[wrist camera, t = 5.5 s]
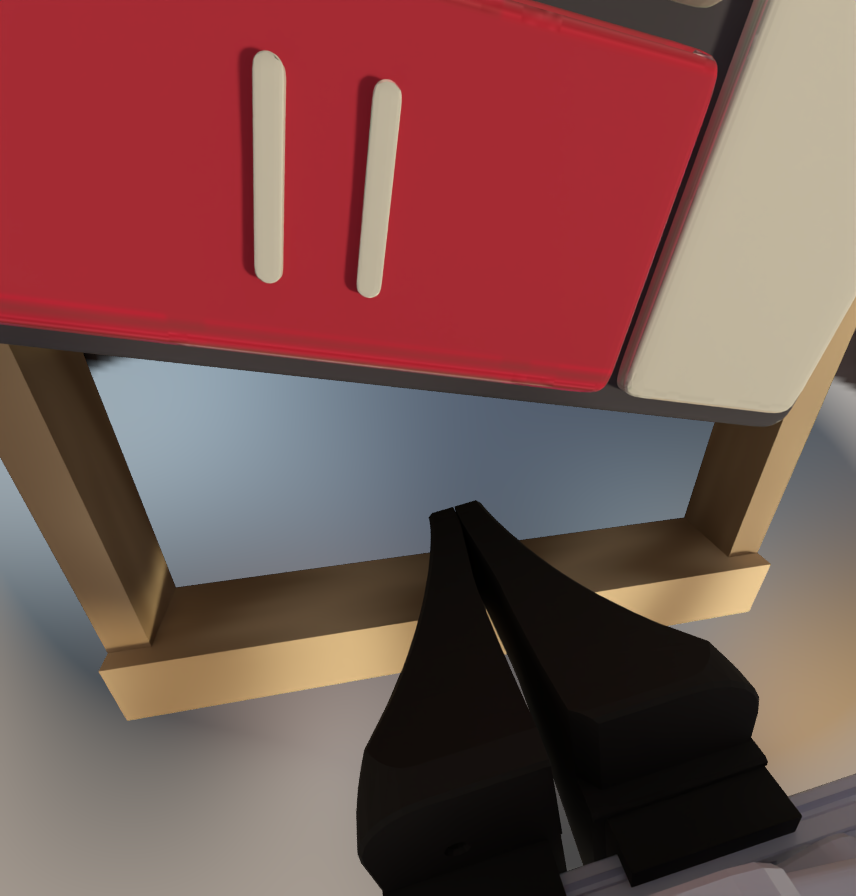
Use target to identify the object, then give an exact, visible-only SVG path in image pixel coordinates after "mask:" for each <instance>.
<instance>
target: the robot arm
mask: <svg viewBox="0 0 856 896" xmlns="http://www.w3.org/2000/svg"><path fill="white" fill-rule="evenodd" d="M455 511H456V512H455ZM429 520H430V529H431V547H430V559H429V569H428V576H427V581H426V587H425V593H424V598H423V603H422V607H421V611H420V615H419V619H418V623H417V626H416V630H415V633H414V636H413V639H412V642H411V645H410V649H409V652H408V655H407V657H406V660H405V663H404V666H403V668H402V671H401V673H400V675H399V678H398V680H397V683H396V685H395V687H394V690H393V692H392V695H391V697H390V699H389V702H388V704H387V706H386V708H385V710H384V712H383V714H382V716H381V718H380V720H379V722H378V724H377V726H376V728H375V730H374V732H373V734H372V736H371V738H370V740H369V742H368V744H367V746H366V747H365V750H364V754H363V760H362V766H361V772H360V778H359V786H358V797H357V811H356V819H357V850H358V856H359V859H360V861H361V864H362V865H363V866H364V867H365V869H366V870H367V871H368V872H369V874H370V875H371V876H372V878H373V879H374V880H375V882H376V883H377V884H378V886H379V887H380V888H381V889H382V891H383V896H856V774H853V775H850V776H847V777H844V778H841V779H838V780H836V781H833V782H830V783H827V784H824V785H821V786H818V787H815V788H812V789H809V790H806V791H803V792H800V793H797V794H794V795H791V796H787V795H786V794H785V792H784V791H783V790H782V788H781V787H780V786H779V784H778V783H777V782H776V780H775V779H774V778H773V777H772V775H771V774H770V773H769V771H768V770H767V769H766V767H765V766H766V765H767V763H768V761H767V759H766V756H765V755H764V754H763V752H762V751H761V750H760V748H759V747H758V746H757V745H756V743H755V742H754V741H753V739H752V738H751V736H752V732H753V728H754V725H755V721H756V717H757V714H758V706H759V696H758V694H757V692H756V690H755V688H754V687H753V686H752V685H751V684H750V683H749V681H747V679H746V678H745V677H744V676H743V675H742V673H741V672H740V671H739V670H738V669H737V668H736V667H735V666H734V665H733V664H732V663H731V662H730V661H729V660H728V659H727V658H726V657H725V656H724V655H723V654H722V653H720V652H719V651H718V650H717V649H716V648H715V647H714V646H713V645H712V644H711V643H710V642H709V641H707V640H704V639H701V638H698V637H696V636H693V635H690V634H687V633H684V632H682V631H679V630H676V629H673V628H671V627H668V626H665V625H663V624H660V623H658V622H655V621H653V620H650V619H648V618H646V617H644V616H641V615H639V614H637V613H634V612H632V611H630V610H628V609H626V608H624V607H622V606H620V605H618V604H616V603H614V602H612V601H610V600H608V599H606V598H604V597H602V596H600V595H598V594H597V593H595V592H593V591H591V590H590V589H588V588H586V587H584V586H583V585H581V584H579V583H578V582H576V581H574V580H573V579H571V578H570V577H568V576H566V575H565V574H563V573H562V572H560V571H559V570H557V569H556V568H554V567H553V566H551V565H550V564H549V563H547V562H546V561H544V560H543V559H542V558H540V557H539V556H538V555H536V554H535V553H534V552H532V551H531V550H530V549H529V548H527V547H526V546H525V545H524V544H523V543H521V542H520V541H519V540H518V539H517V538H515V537H514V536H513V535H512V534H511V533H509V531H507V530H506V529H505V528H504V527H503V526H502V525H501V524H500V523H499V522H498V521H496V519H495V518H494V517H493V516H492V515H491V514H490V513H489V512H488V511H487V510H486V509H485V508H484V507H483V505H482V504H481V503H480V502H478V501H476V500H475V501H472V502H469V503H465V504H462V505H459V506H455V510H454V508H453V507H451V508H448V509H445V510H441V511H438V512H435V513H432V514H431V515H430V517H429ZM482 601H483V602H482ZM483 603H484V604H483ZM484 606H485V607H484ZM485 608H486V609H485ZM486 610H487V612H488V614H489V616H490V619H491V621H492V623H493V625H494V627H495V629H496V631H497V634H498V636H499V638H500V640H501V642H502V644H503V646H504V649H505V651H506V653H507V655H508V657H509V659H510V661H511V664H512V666H513V668H514V671H515V673H516V676H517V678H518V680H519V683H520V686H521V689H522V691H523V694H524V697H525V700H526V703H527V705H528V707H527V705H526V703H525V700H524V698H523V696H522V694H521V692H520V689H519V687H518V685H517V682H516V680H515V678H514V676H513V674H512V671H511V669H510V667H509V664H508V662H507V660H506V657H505V655H504V653H503V650H502V648H501V646H500V643H499V641H498V638H497V636H496V634H495V631H494V629H493V626H492V624H491V621H490V619H489V617H488V614H487V612H486ZM528 708H529V709H528ZM553 779H554V780H553ZM554 782H555V784H556V787H557V790H558V793H559V796H560V799H561V802H562V804H563V807H564V810H565V813H566V816H567V819H568V822H569V825H570V827H571V831H572V834H573V836H574V839H575V842H576V845H577V848H578V851H579V854H580V857H581V860H582V863H583V866H581V867H578V868H575V869H572V870H569V871H567V869H566V863H565V857H564V851H563V845H562V840H561V834H562V829H561V823H560V817H559V811H558V805H557V798H556V793H555V786H554Z"/></svg>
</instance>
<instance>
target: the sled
mask: <svg viewBox="0 0 856 896" xmlns="http://www.w3.org/2000/svg"><path fill="white" fill-rule="evenodd" d="M855 328H856V297H855V299H854V300H853V302H852V304H851V306H850V308H849V309H848V311H847V313H846V315H845V316H844V318H843V320H842V322H841V323H840V325H839V327H838V329H837V330H836V332H835V334H834V336H833V337H832V339H831V341H830V343H829V344H828V346H827V348H826V350H825V352H824V353H823V355H822V357H821V359H820V360H819V362H818V364H817V366H816V367H815V369H814V371H813V373H812V374H811V376H810V378H809V380H808V381H807V383H806V385H805V387H804V389H803V390H802V392H801V393H800V395H799V397H798V398H797V400H796V402H795V404H794V405H793V407H792V409H791V410H790V412H789V413H788V414H787V416H786V417H785V418H783V419H782V420H781V421H779V422H778V423H776V424H774V425H771V426H767V427H756V426H746V425H736V424H727V423H718V422H715V423H714V426H713V429H712V432H711V436H710V439H709V442H708V445H707V448H706V451H705V455H704V458H703V461H702V464H701V467H700V470H699V473H698V477H697V480H696V482H695V486H694V489H693V492H692V495H691V498H690V501H689V505H688V507H687V511H686V514H685V517H684V518H677V519H670V520H663V521H656V522H648V523H641V524H634V525H627V526H619V527H612V528H605V529H597V530H590V531H583V532H576V533H568V534H561V535H555V536H547V537H540V538H532V539H525V540H519V541H520V542H521V543H523V544H524V545H525V546H526V547H527V548H529V549H530V550H531V551H532V552H534V553H535V554H536V555H538V556H539V557H540V558H542V559H543V560H544V561H546V562H547V563H549V564H550V565H551V566H553V567H554V568H556V569H557V570H559V571H560V572H562V573H563V574H565V575H566V576H568V577H570V578H571V579H573V580H574V581H576V582H578V583H579V584H581V585H583V586H584V587H586V588H588V589H590V590H591V591H593V592H595V593H597V594H598V595H600V596H602V597H604V598H606V599H608V600H610V601H612V602H614V603H616V604H618V605H620V606H622V607H624V608H626V609H628V610H630V611H632V612H634V613H637V614H639V615H641V616H644V617H646V618H648V619H650V620H653V621H655V622H658V623H660V624H663V625H665V626H669V625H675V624H681V623H686V622H691V621H697V620H703V619H709V618H715V617H720V616H726V615H732V614H737V613H742V612H748V611H749V610H750V608H751V606H752V604H753V602H754V600H755V597H756V595H757V593H758V591H759V589H760V587H761V584H762V582H763V580H764V578H765V576H766V574H767V572H768V569H769V567H770V565H771V564H770V563H769V562H768V561H766V560H765V559H764V558H763V557H762V556H760V555H759V554H758V553H757V552H758V550H759V548H760V546H761V543H762V541H763V539H764V536H765V534H766V532H767V530H768V527H769V525H770V523H771V520H772V518H773V516H774V513H775V511H776V509H777V506H778V504H779V502H780V500H781V498H782V495H783V493H784V491H785V488H786V486H787V484H788V481H789V479H790V477H791V475H792V472H793V470H794V467H795V465H796V463H797V461H798V458H799V456H800V454H801V452H802V449H803V447H804V445H805V443H806V440H807V437H808V436H809V433H810V431H811V429H812V427H813V424H814V422H815V420H816V417H817V415H818V413H819V411H820V408H821V406H822V404H823V401H824V399H825V397H826V394H827V392H828V390H829V388H830V385H831V383H832V381H833V379H834V376H835V374H836V372H837V369H838V367H839V365H840V362H841V360H842V358H843V356H844V353H845V351H846V349H847V346H848V344H849V342H850V340H851V337H852V335H853V333H854V330H855ZM0 458H1V460H2V461H3V463H4V465H5V467H6V469H7V471H8V472H9V474H10V476H11V478H12V480H13V482H14V483H15V485H16V487H17V489H18V491H19V493H20V494H21V496H22V498H23V500H24V502H25V503H26V505H27V507H28V509H29V511H30V512H31V514H32V516H33V518H34V520H35V522H36V523H37V525H38V527H39V529H40V531H41V533H42V534H43V536H44V538H45V540H46V541H47V543H48V545H49V547H50V549H51V551H52V553H53V554H54V556H55V558H56V560H57V561H58V563H59V565H60V567H61V569H62V571H63V572H64V574H65V576H66V578H67V580H68V582H69V583H70V585H71V587H72V589H73V591H74V593H75V594H76V596H77V598H78V600H79V602H80V603H81V605H82V607H83V609H84V611H85V612H86V614H87V616H88V618H89V620H90V622H91V623H92V625H93V627H94V629H95V631H96V633H97V634H98V636H99V638H100V640H101V642H102V643H103V645H104V647H105V649H106V651H107V652H108V654H107V656H106V658H105V660H104V662H103V664H102V666H101V668H100V670H99V673H100V675H101V676H102V678H103V680H104V682H105V683H106V685H107V687H108V688H109V690H110V692H111V693H112V695H113V697H114V699H115V700H116V702H117V704H118V705H119V707H120V709H121V711H122V712H123V714H124V716H125V718H126V719H127V721H129V720H134V719H140V718H145V717H151V716H157V715H162V714H169V713H173V712H179V711H186V710H191V709H197V708H203V707H208V706H214V705H220V704H225V703H231V702H237V701H242V700H248V699H253V698H259V697H264V696H271V695H277V694H282V693H288V692H294V691H299V690H305V689H310V688H316V687H322V686H328V685H333V684H339V683H345V682H351V681H356V680H362V679H368V678H373V677H379V676H385V675H390V674H396V673H401V671H402V668H403V666H404V663H405V660H406V657H407V655H408V652H409V649H410V645H411V642H412V639H413V636H414V633H415V630H416V626H417V623H418V619H419V615H420V611H421V607H422V603H423V598H424V593H425V587H426V581H427V576H428V569H429V559H430V553H423V554H416V555H409V556H402V557H394V558H387V559H380V560H372V561H365V562H358V563H350V564H344V565H337V566H329V567H321V568H315V569H308V570H300V571H292V572H285V573H278V574H271V575H264V576H256V577H249V578H242V579H234V580H228V581H220V582H213V583H206V584H198V585H191V586H183V587H175V584H174V582H173V579H172V577H171V574H170V572H169V569H168V567H167V564H166V561H165V559H164V556H163V554H162V551H161V549H160V547H159V544H158V541H157V539H156V536H155V534H154V531H153V529H152V526H151V524H150V521H149V519H148V516H147V514H146V511H145V508H144V506H143V503H142V501H141V499H140V496H139V493H138V491H137V489H136V486H135V483H134V481H133V478H132V476H131V473H130V471H129V468H128V466H127V463H126V461H125V458H124V456H123V453H122V450H121V448H120V445H119V443H118V440H117V438H116V435H115V433H114V430H113V428H112V425H111V423H110V421H109V418H108V415H107V413H106V410H105V408H104V405H103V403H102V400H101V397H100V395H99V393H98V390H97V387H96V385H95V382H94V380H93V377H92V375H91V372H90V370H89V367H88V365H87V362H86V360H85V357H84V355H83V353H82V352H73V351H64V350H55V349H46V348H37V347H28V346H19V345H10V344H1V343H0ZM482 602H483V601H482ZM483 604H484V603H483ZM484 607H485V606H484ZM485 609H486V608H485ZM486 612H487V610H486ZM487 614H488V612H487ZM488 617H489V619H490V616H489V614H488ZM490 621H491V619H490ZM491 624H492V626H493V629H494V631H495V634H496V636H497V638H498V641H499V643H500V646H501V648H502V650H503V653H504V654H507V653H506V651H505V649H504V646H503V644H502V642H501V640H500V638H499V636H498V634H497V631H496V629H495V627H494V625H493V623H492V621H491Z"/></svg>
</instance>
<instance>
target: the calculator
mask: <svg viewBox="0 0 856 896" xmlns="http://www.w3.org/2000/svg"><path fill="white" fill-rule="evenodd" d="M855 297H856V0H0V343H1V344H10V345H19V346H28V347H37V348H46V349H55V350H64V351H73V352H82V353H91V354H101V355H110V356H119V357H128V358H137V359H147V360H156V361H164V362H173V363H183V364H191V365H200V366H210V367H219V368H228V369H238V370H246V371H255V372H264V373H274V374H283V375H292V376H301V377H309V378H319V379H328V380H337V381H346V382H355V383H364V384H373V385H382V386H391V387H400V388H409V389H419V390H428V391H437V392H446V393H455V394H464V395H473V396H482V397H492V398H500V399H509V400H518V401H528V402H537V403H546V404H555V405H565V406H573V407H582V408H591V409H600V410H610V411H618V412H628V413H637V414H646V415H655V416H664V417H673V418H682V419H691V420H700V421H709V422H718V423H727V424H736V425H746V426H756V427H767V426H771V425H774V424H776V423H778V422H779V421H781V420H782V419H783V418H785V417H786V416H787V414H788V413H789V412H790V410H791V409H792V407H793V405H794V404H795V402H796V400H797V398H798V397H799V395H800V393H801V392H802V390H803V389H804V387H805V385H806V383H807V381H808V380H809V378H810V376H811V374H812V373H813V371H814V369H815V367H816V366H817V364H818V362H819V360H820V359H821V357H822V355H823V353H824V352H825V350H826V348H827V346H828V344H829V343H830V341H831V339H832V337H833V336H834V334H835V332H836V330H837V329H838V327H839V325H840V323H841V322H842V320H843V318H844V316H845V315H846V313H847V311H848V309H849V308H850V306H851V304H852V302H853V300H854V299H855Z"/></svg>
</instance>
